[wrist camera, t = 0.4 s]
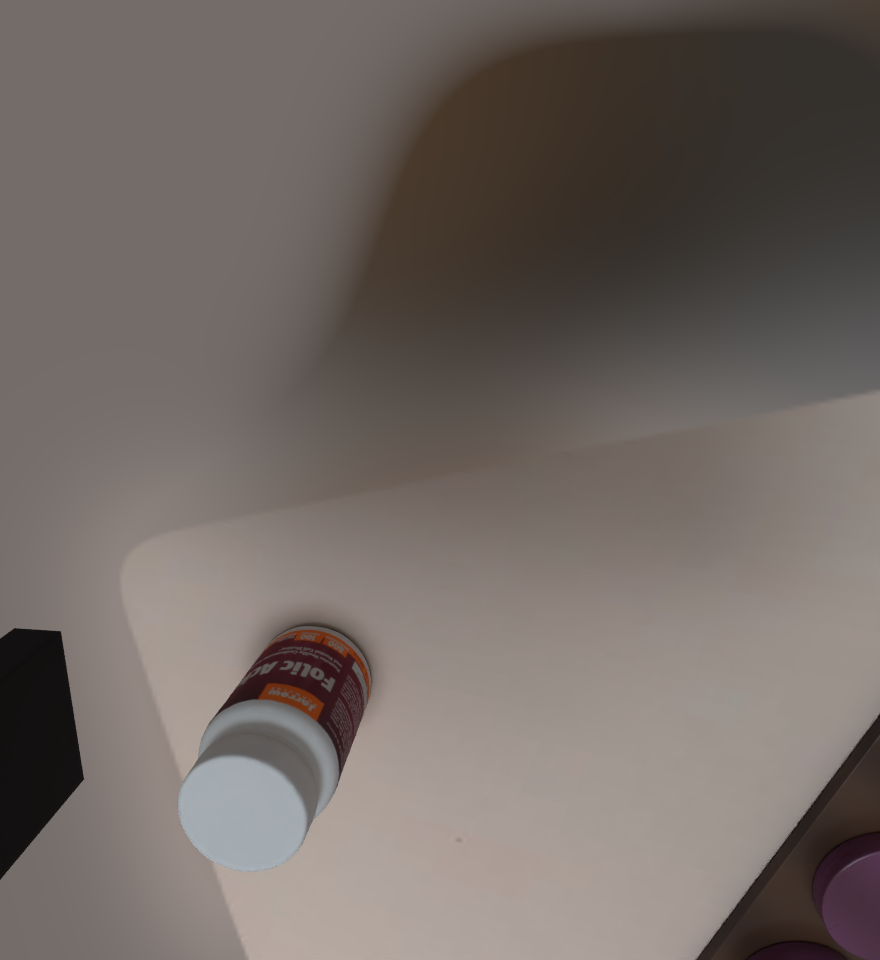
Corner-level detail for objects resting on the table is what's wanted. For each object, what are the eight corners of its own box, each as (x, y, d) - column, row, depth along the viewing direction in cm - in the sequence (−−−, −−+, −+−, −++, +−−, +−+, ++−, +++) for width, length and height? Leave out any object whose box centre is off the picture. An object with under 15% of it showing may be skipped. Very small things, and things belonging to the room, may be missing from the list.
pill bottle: (362, 616, 29) (303, 738, 20) (381, 723, 30) (333, 880, 21) (248, 627, 29) (147, 751, 21) (271, 732, 30) (183, 888, 22)
